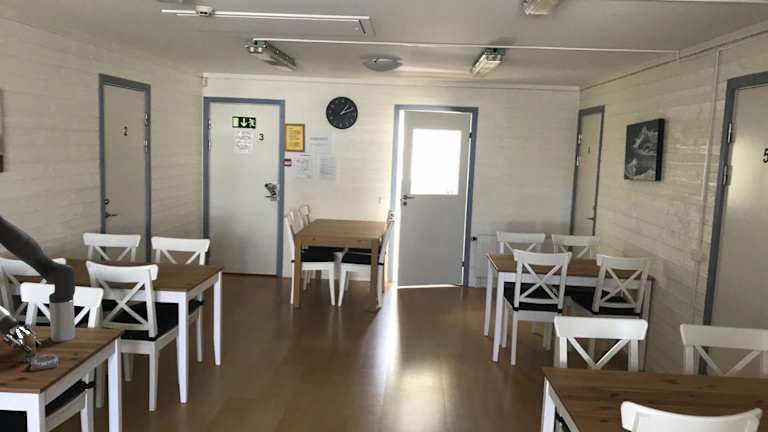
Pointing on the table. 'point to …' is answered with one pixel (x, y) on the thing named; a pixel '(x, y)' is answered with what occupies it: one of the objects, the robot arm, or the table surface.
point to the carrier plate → (44, 362)
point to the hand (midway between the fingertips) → (34, 349)
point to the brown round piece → (30, 342)
